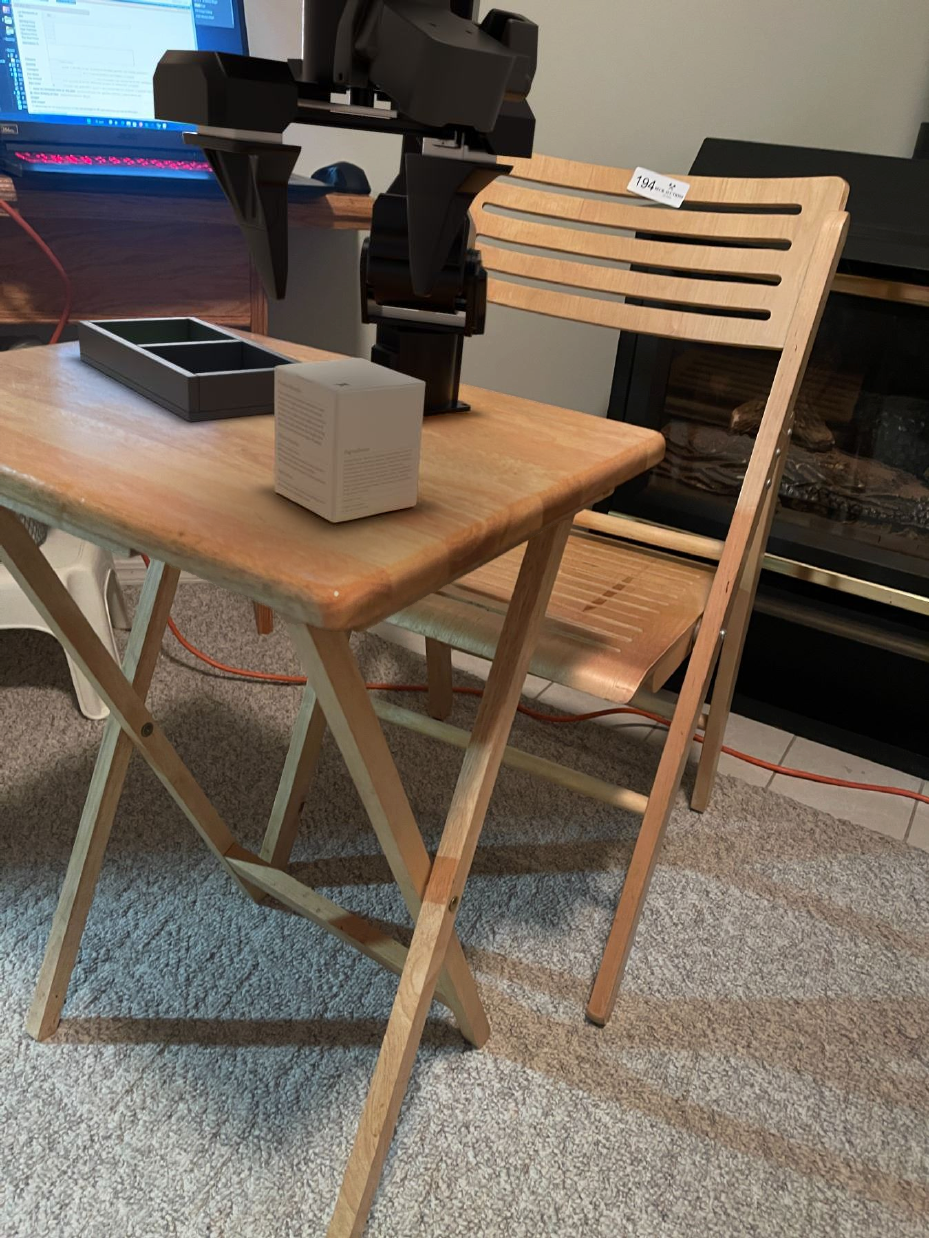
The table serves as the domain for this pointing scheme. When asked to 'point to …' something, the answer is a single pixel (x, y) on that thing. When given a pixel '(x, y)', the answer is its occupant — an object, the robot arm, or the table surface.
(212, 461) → the table surface
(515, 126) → the robot arm
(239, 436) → the table surface
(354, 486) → the product box
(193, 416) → the divided tray
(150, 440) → the table surface
